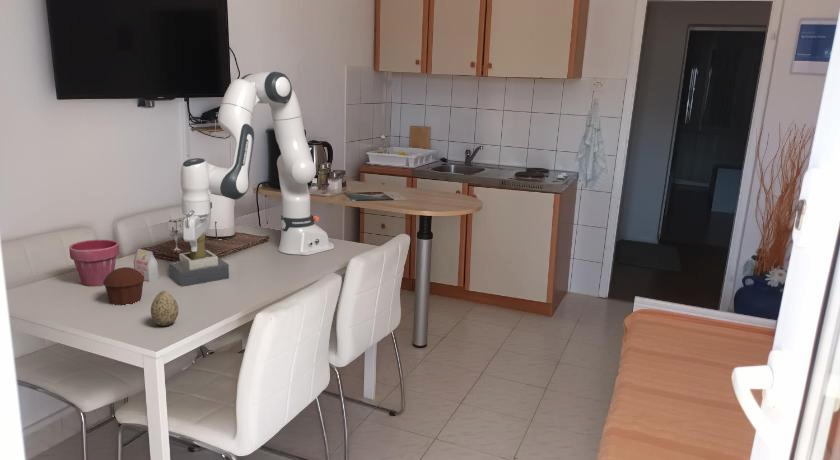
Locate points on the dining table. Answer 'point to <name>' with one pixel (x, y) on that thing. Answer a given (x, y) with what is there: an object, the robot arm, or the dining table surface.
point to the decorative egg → (164, 309)
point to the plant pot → (94, 260)
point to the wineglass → (175, 229)
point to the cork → (199, 249)
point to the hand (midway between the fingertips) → (198, 247)
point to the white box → (146, 265)
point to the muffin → (124, 286)
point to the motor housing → (198, 269)
